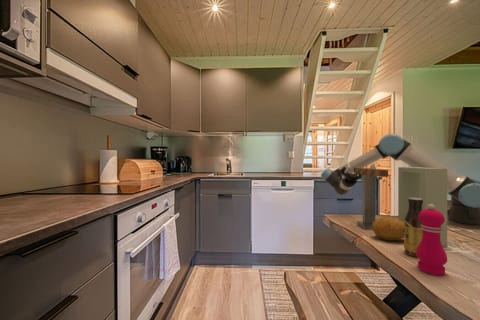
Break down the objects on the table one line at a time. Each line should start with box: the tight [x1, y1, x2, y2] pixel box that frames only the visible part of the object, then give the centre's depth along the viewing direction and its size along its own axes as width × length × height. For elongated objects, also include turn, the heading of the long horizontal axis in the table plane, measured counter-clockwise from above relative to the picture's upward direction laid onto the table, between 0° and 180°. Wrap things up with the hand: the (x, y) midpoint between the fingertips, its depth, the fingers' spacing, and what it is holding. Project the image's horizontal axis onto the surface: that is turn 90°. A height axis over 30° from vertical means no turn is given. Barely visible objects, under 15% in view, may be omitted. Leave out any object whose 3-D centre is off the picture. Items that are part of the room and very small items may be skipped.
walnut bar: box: [353, 167, 389, 178], centre depth 113 cm, size 28×3×3 cm, turn 176°
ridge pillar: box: [356, 175, 378, 231], centre depth 113 cm, size 8×8×26 cm
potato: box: [372, 217, 404, 241], centre depth 95 cm, size 10×13×9 cm
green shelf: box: [397, 166, 448, 247], centre depth 97 cm, size 17×8×30 cm, turn 176°
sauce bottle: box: [403, 198, 423, 258], centre depth 80 cm, size 6×6×20 cm
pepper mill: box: [416, 204, 448, 276], centre depth 68 cm, size 7×7×20 cm
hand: (361, 164), depth 120 cm, fingers open, 13 cm apart
